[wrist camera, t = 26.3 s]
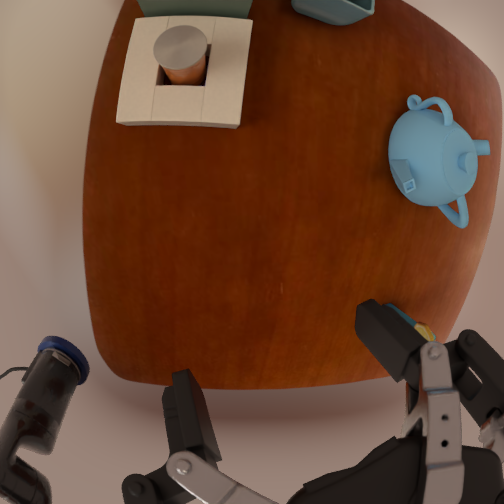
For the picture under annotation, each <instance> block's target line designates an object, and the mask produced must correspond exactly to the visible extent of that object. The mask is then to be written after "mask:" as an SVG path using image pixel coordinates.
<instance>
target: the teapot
mask: <svg viewBox="0 0 504 504" xmlns="http://www.w3.org/2000/svg"><path fill="white" fill-rule="evenodd" d="M416 102H417V105H416ZM433 104H438V105H439V106H440V108H441V110H442V113H443V114H442V113H440V112H437V111H434V110H430V109H426V108H427V107H429V106H431V105H433ZM407 105H408V107H409V109H410V110H409V111H407V112H406V113H404V114H403V115H402V116H401V117H400V118H399V119H398V120H397V121H396V123H395V125H394V127H393V129H392V132H391V135H390V140H389V147H388V156H389V164H390V169H391V172H392V175H393V178H394V180H395V183H396V185H397V186H398V188H399V189H400V191H401V192H402V193H403V194H404V195H405V197H407V198H408V199H409V200H410V201H412V202H414V203H416V204H419V205H424V206H438V208H439V209H440V210H441V211H442V212H443V213H444V215H445V216H446V217H447V218H448V219H449V220H450V221H451V222H452V223H453V224H454V225H456V226H457V227H459V228H465V227H466V226H467V225H468V220H469V216H468V209H467V204H466V200H465V196H464V194H466V193H467V192H468V191H469V190H470V189H471V187H472V186H473V184H474V182H475V179H476V175H477V169H478V159H477V155H490V146H489V142H488V140H472V139H471V137H470V136H469V135H468V133H467V132H466V131H465V130H464V129H463V128H462V127H461V126H460V125H458V124H457V123H456V122H455V121H453V115H452V111H451V109H450V107H449V105H448V104H447V102H446V101H444V100H443V99H441V98H439V97H432V98H429V99H426V100H425V101H423V102H422V100H421V98H420V97H419V96H417V95H411V96H409V97H408V101H407ZM454 200H457V204H458V208H459V214H458V213H457V212H455V211H454V210H453V209H452V208H451V207H450V206H449V205H447V204H448V203H450V202H452V201H454Z"/></svg>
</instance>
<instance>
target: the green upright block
mask: <svg viewBox="0 0 504 504" xmlns="http://www.w3.org/2000/svg"><path fill="white" fill-rule="evenodd" d="M137 1H138V3H139V5H140V7H141V9H142V11H143V13H144V16H145V18H146V17H160V16H216V17H229V18H239V19H247V17H248V13H249V10H250V7H251V4H252V1H253V0H137Z"/></svg>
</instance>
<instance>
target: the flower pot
mask: <svg viewBox="0 0 504 504" xmlns="http://www.w3.org/2000/svg"><path fill="white" fill-rule="evenodd" d="M291 3H292V7H293V8H294V10H295V11H296V12H298V13H301V14H304V15H307V16H310V17H312V18H315V19H318V20H320V21H323V22H325V23H328V24H332V25H349V24H352V23H354V22H357V21H359V20H361V19H363V18H365V17H367V16H370V15H372V14H373V13H374V7H375V6H374V5H375V0H292V1H291Z"/></svg>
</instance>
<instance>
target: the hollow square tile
mask: <svg viewBox="0 0 504 504" xmlns="http://www.w3.org/2000/svg"><path fill="white" fill-rule="evenodd" d="M252 23H253V20H248V19H239V18H229V17H216V16H160V17H146V18H136V21H135V24H134V28H133V31H132V35H131V39H130V43H129V47H128V52H127V56H126V61H125V66H124V71H123V76H122V82H121V88H120V94H119V101H118V109H117V117H116V122H117V123H120V124H123V125H127V126H130V125H186V126H208V127H222V128H234V129H236V128H237V127H238V126H239V125H240V118H241V109H242V101H243V92H244V84H245V76H246V68H247V60H248V53H249V45H250V38H251V30H252ZM179 25H189V26H193V27H196V28H198V29H199V30H201V31H202V32H203V33H204V35H205V37H206V39H207V50H206V52H205V56H210V57H209V63H208V70H207V76H206V83H205V86H186V85H163V83H164V76H165V71H164V69H163V67H162V66H161V65H160V64H159V63H158V62H157V61H156V59H155V58H154V55H153V46H154V43H155V41H156V39H157V38H158V37H159V36H160V35H161V34H162V33H163V32H164V31H166V30H167V29H169V28H172V27H175V26H179Z"/></svg>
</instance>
